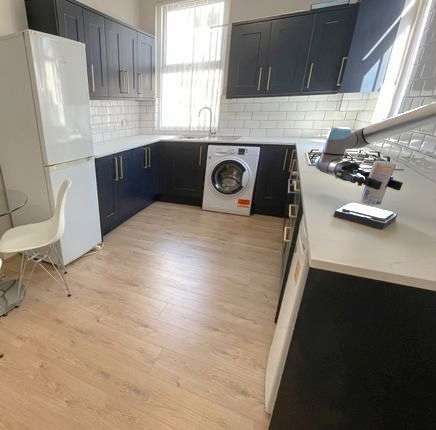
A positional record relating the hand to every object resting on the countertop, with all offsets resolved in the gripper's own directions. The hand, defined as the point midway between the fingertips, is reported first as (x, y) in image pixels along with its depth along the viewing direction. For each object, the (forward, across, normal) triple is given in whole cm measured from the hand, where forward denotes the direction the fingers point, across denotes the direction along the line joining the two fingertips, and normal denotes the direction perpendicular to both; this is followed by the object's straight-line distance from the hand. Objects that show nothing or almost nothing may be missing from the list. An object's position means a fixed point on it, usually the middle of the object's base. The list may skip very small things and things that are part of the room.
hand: (389, 186), depth 92 cm
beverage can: (-5, 0, -8) cm, 10 cm away
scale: (-4, +1, -14) cm, 14 cm away
